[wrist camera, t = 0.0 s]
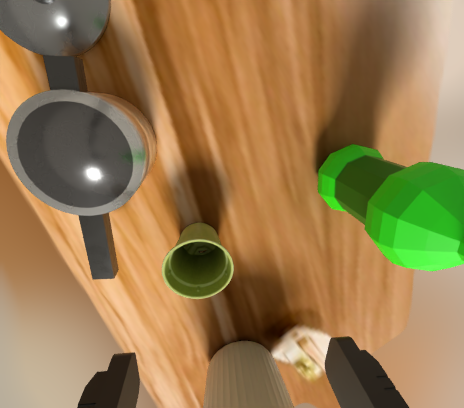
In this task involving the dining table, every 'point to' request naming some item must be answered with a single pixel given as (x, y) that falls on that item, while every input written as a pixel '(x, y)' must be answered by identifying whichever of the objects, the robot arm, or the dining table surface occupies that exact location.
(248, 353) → the canister
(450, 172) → the plastic bottle
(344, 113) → the dining table surface
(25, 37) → the lid
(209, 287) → the plant pot
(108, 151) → the cooker pot
